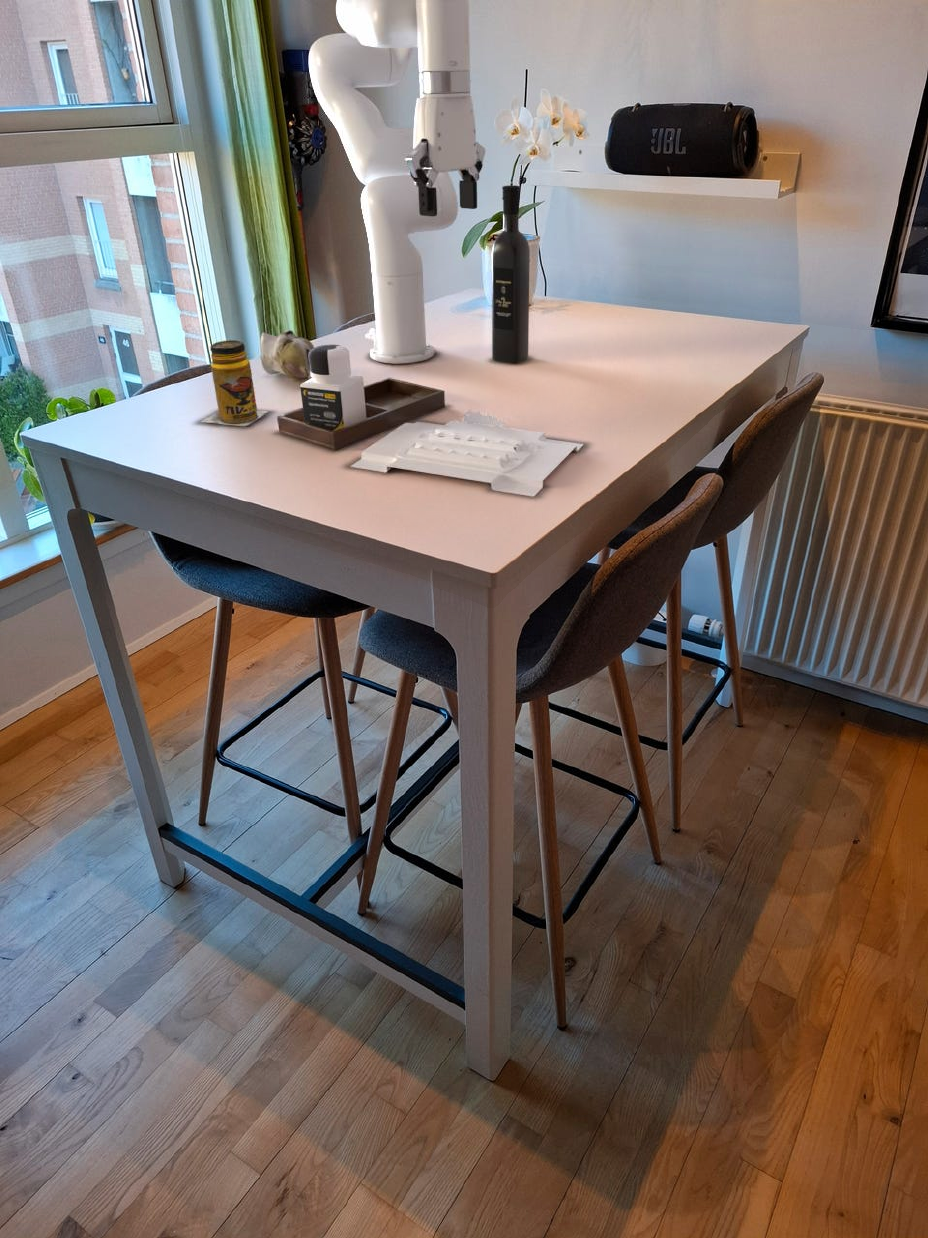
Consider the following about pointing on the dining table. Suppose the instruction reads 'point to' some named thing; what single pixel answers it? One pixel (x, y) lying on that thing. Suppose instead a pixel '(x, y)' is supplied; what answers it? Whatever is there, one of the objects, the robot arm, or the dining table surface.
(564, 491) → the dining table surface
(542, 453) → the tray
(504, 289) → the wine bottle
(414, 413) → the dark wooden divided tray
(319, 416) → the medicine bottle
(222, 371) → the condiment
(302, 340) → the ceramic sculpture
